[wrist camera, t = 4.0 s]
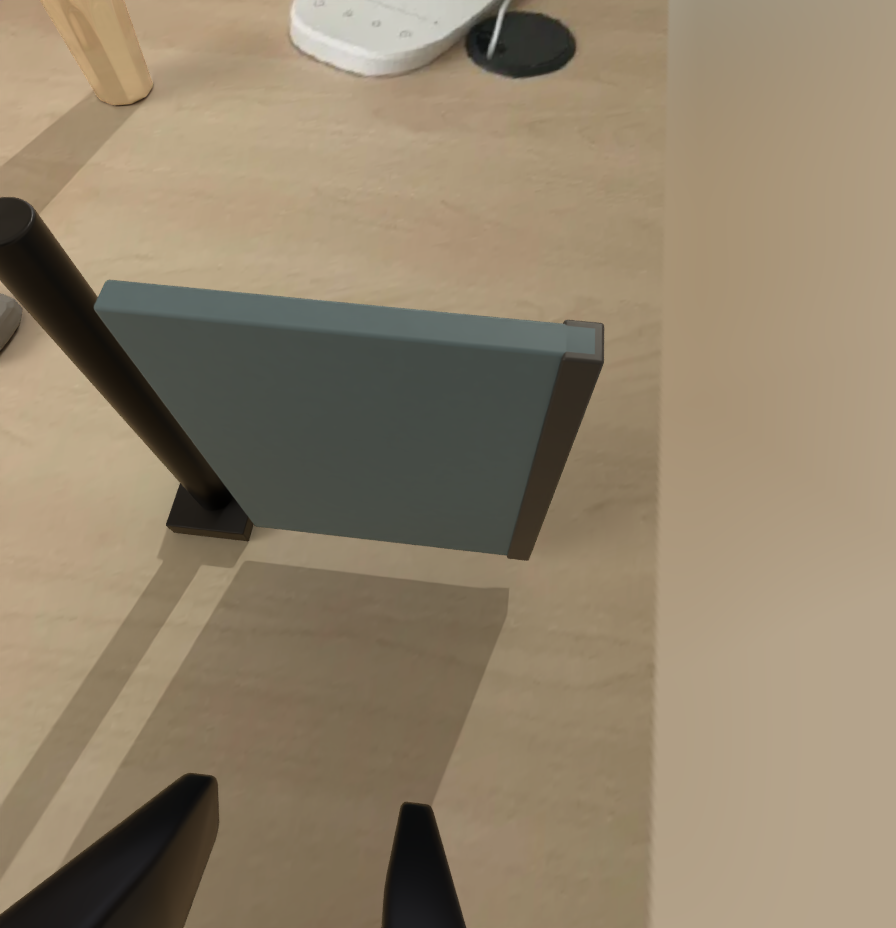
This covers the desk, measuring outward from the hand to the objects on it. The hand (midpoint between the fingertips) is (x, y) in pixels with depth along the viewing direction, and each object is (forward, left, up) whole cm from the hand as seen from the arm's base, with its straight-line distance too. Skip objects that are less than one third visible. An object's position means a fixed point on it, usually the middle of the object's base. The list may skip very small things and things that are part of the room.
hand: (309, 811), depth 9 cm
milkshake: (+38, +12, -13) cm, 42 cm away
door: (+8, -1, -12) cm, 15 cm away
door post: (+11, +5, -13) cm, 18 cm away
